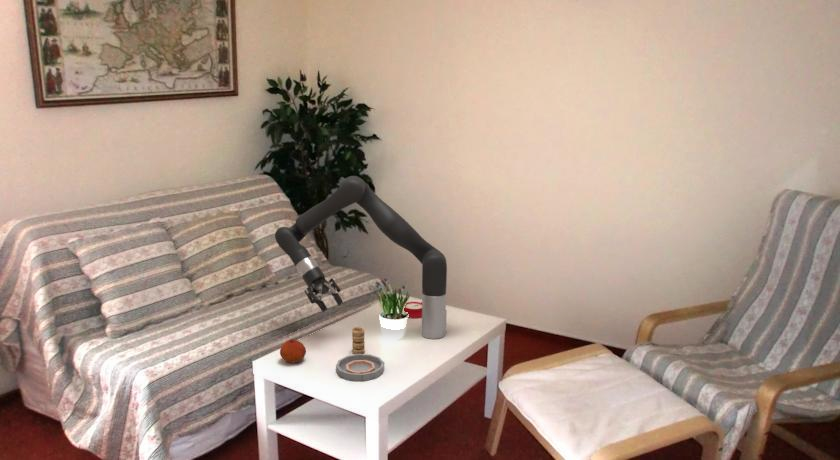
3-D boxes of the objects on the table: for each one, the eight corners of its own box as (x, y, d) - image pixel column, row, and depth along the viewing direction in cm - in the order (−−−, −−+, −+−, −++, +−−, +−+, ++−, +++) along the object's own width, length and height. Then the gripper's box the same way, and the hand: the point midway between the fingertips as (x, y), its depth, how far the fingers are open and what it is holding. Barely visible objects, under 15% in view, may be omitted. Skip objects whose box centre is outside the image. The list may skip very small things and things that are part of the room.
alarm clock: (396, 303, 280) (428, 293, 284) (399, 316, 282) (431, 306, 286) (403, 312, 270) (436, 300, 274) (406, 325, 272) (439, 314, 276)
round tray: (357, 356, 236) (357, 350, 236) (392, 368, 227) (392, 361, 227) (327, 372, 224) (327, 366, 223) (363, 385, 215) (363, 378, 214)
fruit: (291, 368, 226) (290, 347, 224) (275, 361, 232) (274, 340, 230) (311, 360, 233) (310, 339, 231) (296, 353, 238) (295, 333, 237)
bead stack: (357, 348, 243) (357, 326, 241) (367, 351, 240) (366, 328, 238) (350, 352, 239) (349, 329, 237) (359, 356, 237) (359, 332, 235)
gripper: (301, 270, 238) (325, 307, 235) (328, 261, 249) (351, 296, 246) (291, 281, 242) (314, 317, 239) (318, 272, 254) (340, 306, 250)
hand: (333, 307), depth 242 cm, fingers open, 8 cm apart
